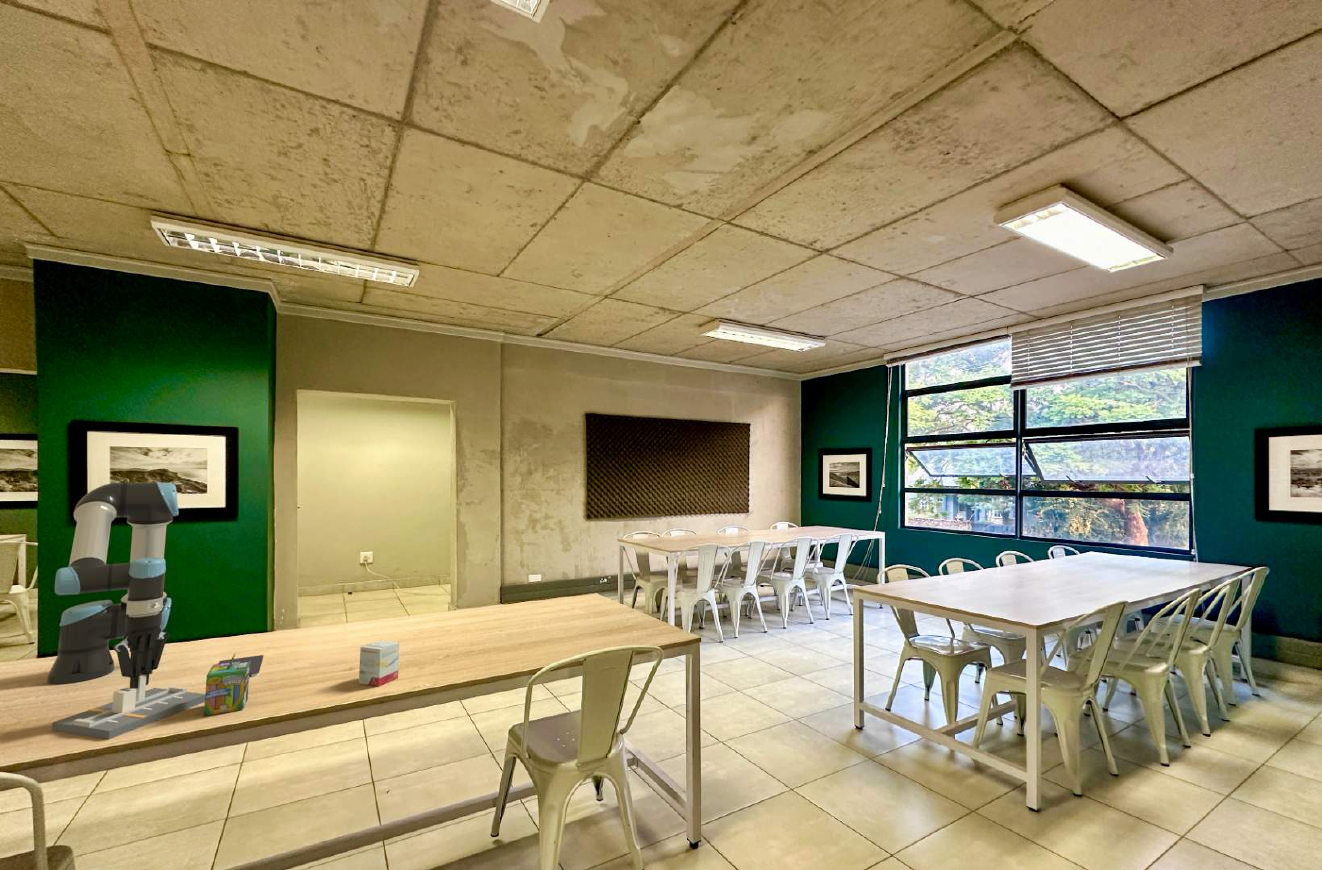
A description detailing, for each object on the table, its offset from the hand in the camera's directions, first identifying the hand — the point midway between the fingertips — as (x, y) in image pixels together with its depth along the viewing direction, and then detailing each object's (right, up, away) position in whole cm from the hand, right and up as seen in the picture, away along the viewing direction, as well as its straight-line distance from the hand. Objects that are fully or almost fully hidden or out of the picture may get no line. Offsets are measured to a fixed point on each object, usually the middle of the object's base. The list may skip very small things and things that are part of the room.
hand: (138, 699), depth 154 cm
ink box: (+54, -7, +26) cm, 61 cm away
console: (0, -4, -1) cm, 4 cm away
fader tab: (-1, -2, -3) cm, 4 cm away
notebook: (+2, -7, +34) cm, 35 cm away
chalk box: (+21, -5, +4) cm, 22 cm away
